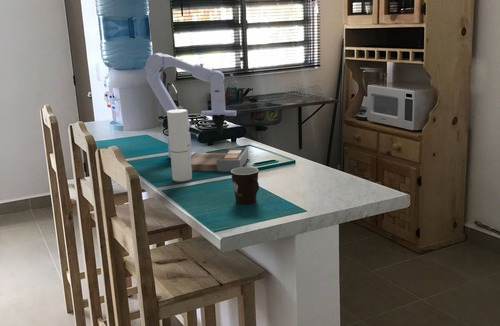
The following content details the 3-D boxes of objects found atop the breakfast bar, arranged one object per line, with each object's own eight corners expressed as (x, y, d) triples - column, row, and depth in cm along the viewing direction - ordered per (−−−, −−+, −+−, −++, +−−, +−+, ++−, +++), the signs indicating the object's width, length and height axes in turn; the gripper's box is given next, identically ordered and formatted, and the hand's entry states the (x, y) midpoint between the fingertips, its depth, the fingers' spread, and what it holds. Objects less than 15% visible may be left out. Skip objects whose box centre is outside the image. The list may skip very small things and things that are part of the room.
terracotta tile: (224, 164, 205) (223, 158, 204) (226, 160, 209) (225, 154, 209) (237, 164, 204) (236, 157, 203) (238, 160, 209) (238, 154, 208)
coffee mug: (231, 197, 174) (230, 167, 171) (258, 195, 174) (257, 166, 172) (233, 209, 162) (232, 178, 160) (262, 207, 163) (260, 176, 160)
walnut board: (184, 170, 206) (184, 164, 205) (196, 158, 222) (195, 152, 221) (217, 170, 203) (217, 164, 203) (227, 158, 220) (226, 153, 219)
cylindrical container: (195, 176, 198) (191, 109, 191) (185, 182, 191) (180, 113, 185) (179, 174, 200) (174, 108, 194) (168, 180, 194) (163, 112, 188)
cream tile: (227, 159, 211) (227, 153, 211) (230, 156, 216) (229, 150, 215) (239, 159, 210) (239, 153, 210) (242, 156, 215) (241, 150, 214)
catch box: (217, 171, 203) (216, 160, 202) (227, 158, 220) (226, 147, 219) (240, 171, 201) (239, 160, 200) (248, 158, 219) (248, 147, 218)
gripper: (198, 102, 218) (200, 135, 222) (233, 102, 216) (235, 134, 219) (202, 99, 225) (204, 131, 228) (236, 99, 222) (238, 131, 226)
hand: (220, 132), depth 224 cm, fingers closed
